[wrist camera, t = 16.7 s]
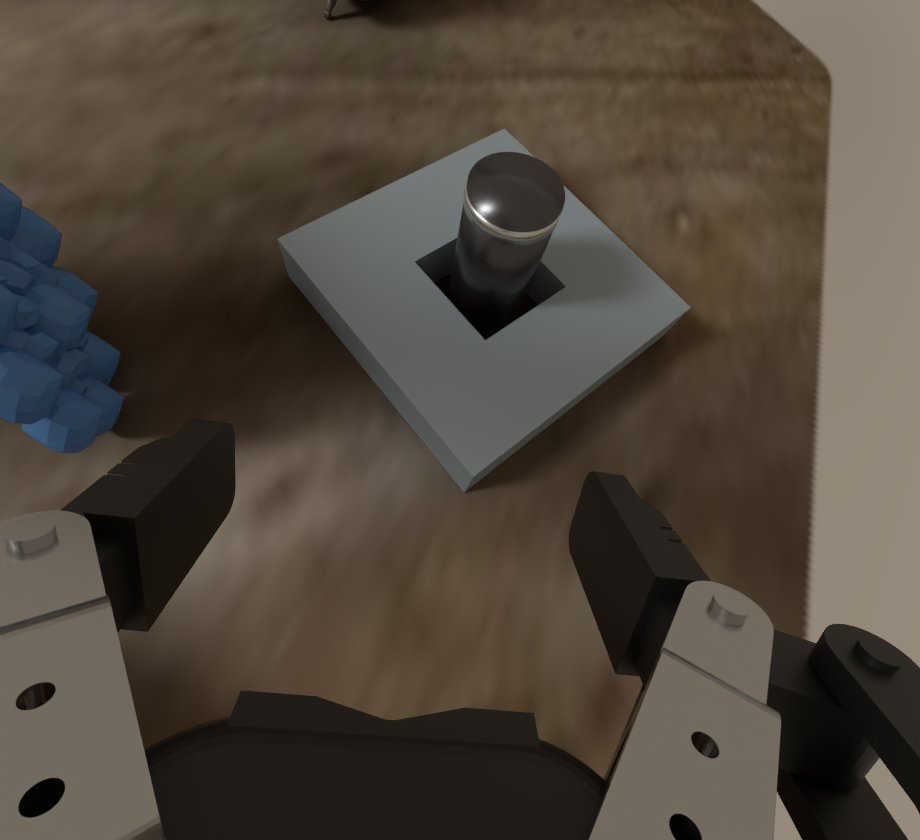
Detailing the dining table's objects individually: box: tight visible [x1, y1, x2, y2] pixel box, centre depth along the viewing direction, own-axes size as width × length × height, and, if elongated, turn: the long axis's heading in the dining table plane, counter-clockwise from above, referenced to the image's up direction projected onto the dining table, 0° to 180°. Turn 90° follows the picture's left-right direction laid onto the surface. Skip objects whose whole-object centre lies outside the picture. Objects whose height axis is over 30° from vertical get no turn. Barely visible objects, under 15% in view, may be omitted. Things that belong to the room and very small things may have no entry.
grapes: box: [0, 183, 124, 453], centre depth 22 cm, size 12×7×12 cm, turn 19°
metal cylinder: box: [447, 152, 565, 340], centre depth 28 cm, size 5×5×10 cm
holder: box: [277, 129, 691, 492], centre depth 31 cm, size 18×18×3 cm
